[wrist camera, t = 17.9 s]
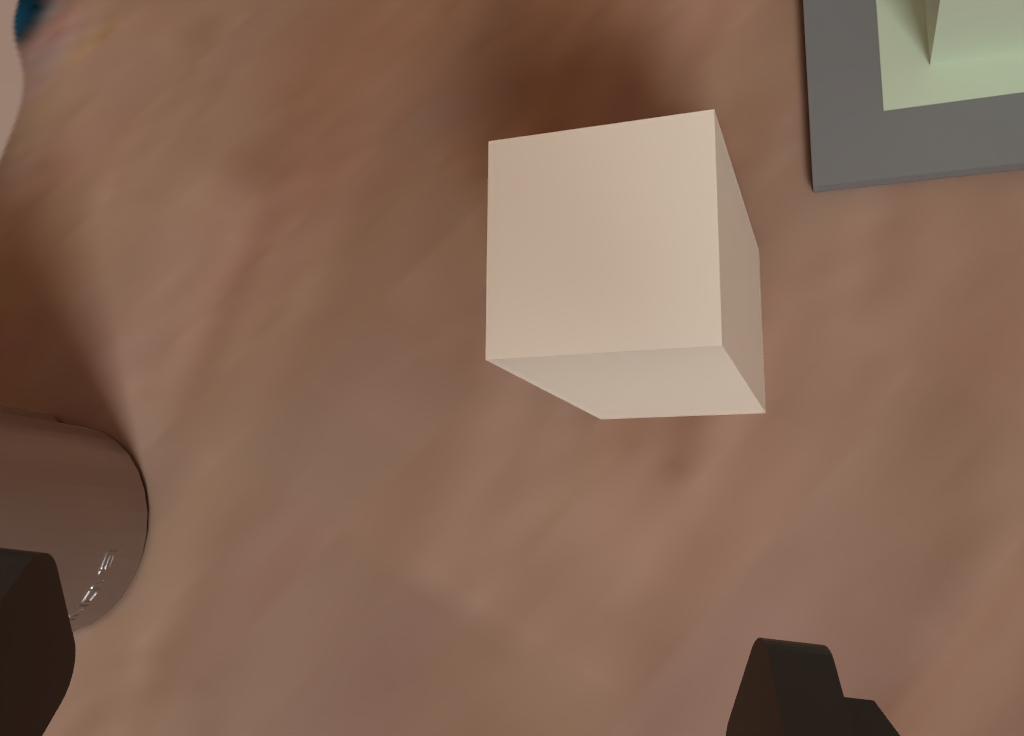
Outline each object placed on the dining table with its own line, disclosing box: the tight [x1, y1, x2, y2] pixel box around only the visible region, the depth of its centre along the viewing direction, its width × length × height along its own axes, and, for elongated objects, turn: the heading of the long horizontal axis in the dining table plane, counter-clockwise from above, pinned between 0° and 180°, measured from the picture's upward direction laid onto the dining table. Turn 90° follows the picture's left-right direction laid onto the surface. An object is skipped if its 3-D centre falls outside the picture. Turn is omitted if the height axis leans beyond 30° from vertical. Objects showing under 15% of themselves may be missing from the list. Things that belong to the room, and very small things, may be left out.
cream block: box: [486, 109, 766, 419], centre depth 30 cm, size 6×6×12 cm
